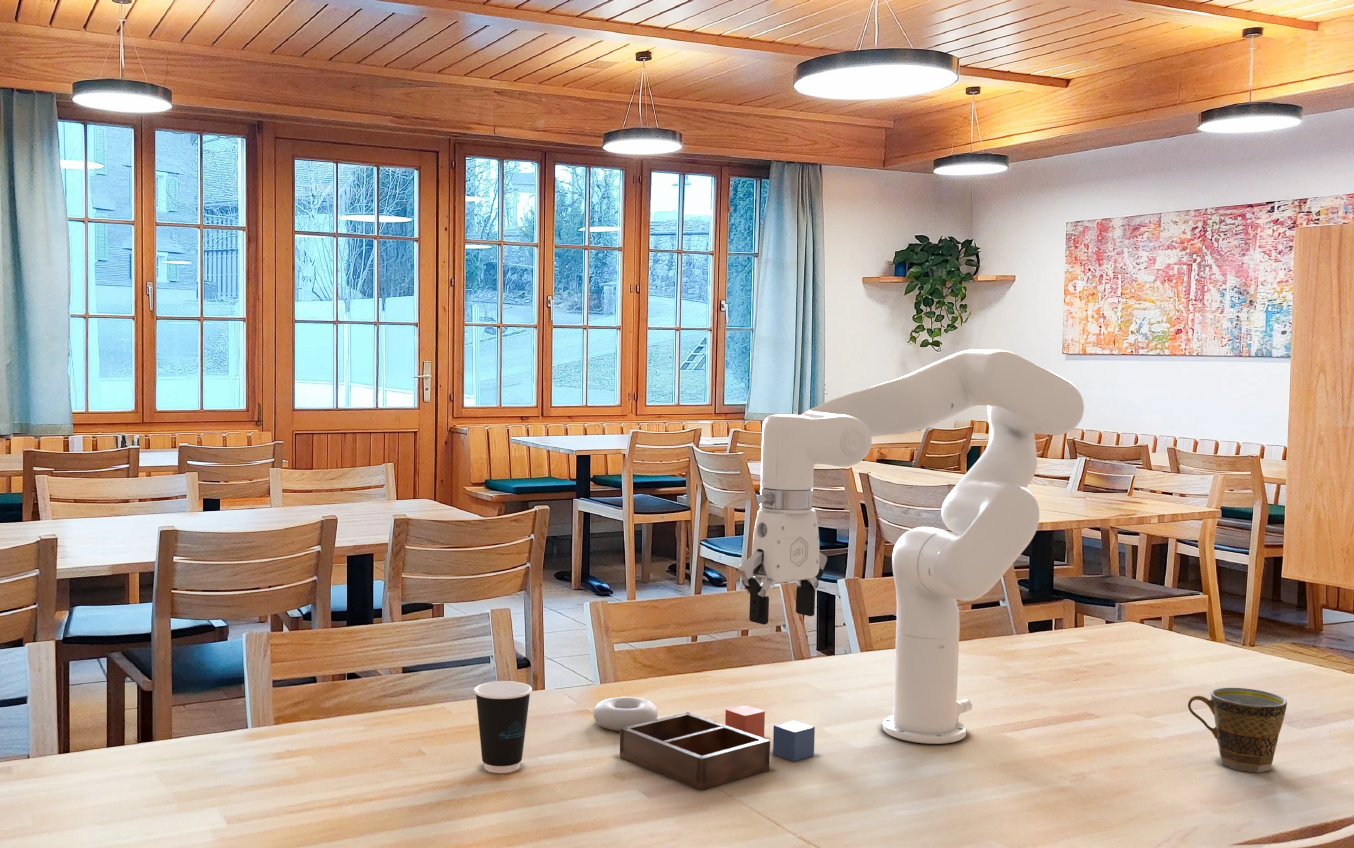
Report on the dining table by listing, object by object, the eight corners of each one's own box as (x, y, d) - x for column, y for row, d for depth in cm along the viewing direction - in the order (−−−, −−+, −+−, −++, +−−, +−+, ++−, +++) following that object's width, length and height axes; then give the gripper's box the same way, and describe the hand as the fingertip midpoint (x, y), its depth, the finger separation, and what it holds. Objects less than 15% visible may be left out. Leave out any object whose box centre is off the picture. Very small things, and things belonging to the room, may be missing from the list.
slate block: (792, 748, 182) (793, 720, 182) (814, 755, 179) (814, 726, 179) (772, 753, 179) (773, 725, 179) (794, 761, 176) (794, 732, 176)
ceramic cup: (1278, 758, 182) (1282, 691, 182) (1288, 780, 173) (1291, 709, 172) (1183, 747, 187) (1186, 682, 186) (1187, 768, 177) (1190, 699, 177)
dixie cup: (516, 779, 166) (517, 698, 165) (462, 772, 168) (463, 692, 168) (540, 761, 174) (541, 684, 173) (488, 755, 176) (489, 678, 175)
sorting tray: (687, 739, 185) (688, 711, 185) (769, 769, 172) (770, 740, 172) (619, 757, 176) (620, 727, 176) (700, 790, 164) (701, 758, 164)
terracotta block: (744, 731, 190) (745, 704, 189) (764, 738, 187) (765, 710, 186) (724, 736, 187) (725, 709, 187) (744, 743, 184) (745, 715, 183)
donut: (585, 732, 188) (650, 736, 186) (585, 709, 188) (650, 713, 186) (602, 713, 198) (664, 717, 196) (602, 692, 198) (664, 695, 196)
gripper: (763, 507, 170) (758, 631, 171) (845, 500, 181) (841, 616, 182) (724, 501, 175) (721, 621, 176) (807, 494, 187) (803, 607, 188)
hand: (782, 618), depth 179 cm, fingers open, 9 cm apart
